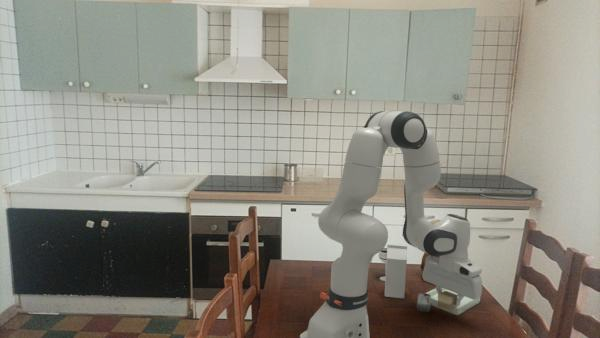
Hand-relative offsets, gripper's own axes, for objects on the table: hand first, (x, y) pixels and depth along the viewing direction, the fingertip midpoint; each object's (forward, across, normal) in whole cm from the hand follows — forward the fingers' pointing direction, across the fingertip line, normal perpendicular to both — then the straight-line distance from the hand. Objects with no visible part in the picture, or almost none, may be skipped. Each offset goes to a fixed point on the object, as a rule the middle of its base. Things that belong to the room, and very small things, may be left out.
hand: (448, 301), depth 147 cm
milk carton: (+6, -22, 0) cm, 23 cm away
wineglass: (+5, -33, +9) cm, 35 cm away
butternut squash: (+5, -20, +25) cm, 32 cm away
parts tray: (+5, -5, +11) cm, 13 cm away
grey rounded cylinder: (+5, -8, -2) cm, 10 cm away
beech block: (+2, 0, -1) cm, 2 cm away
